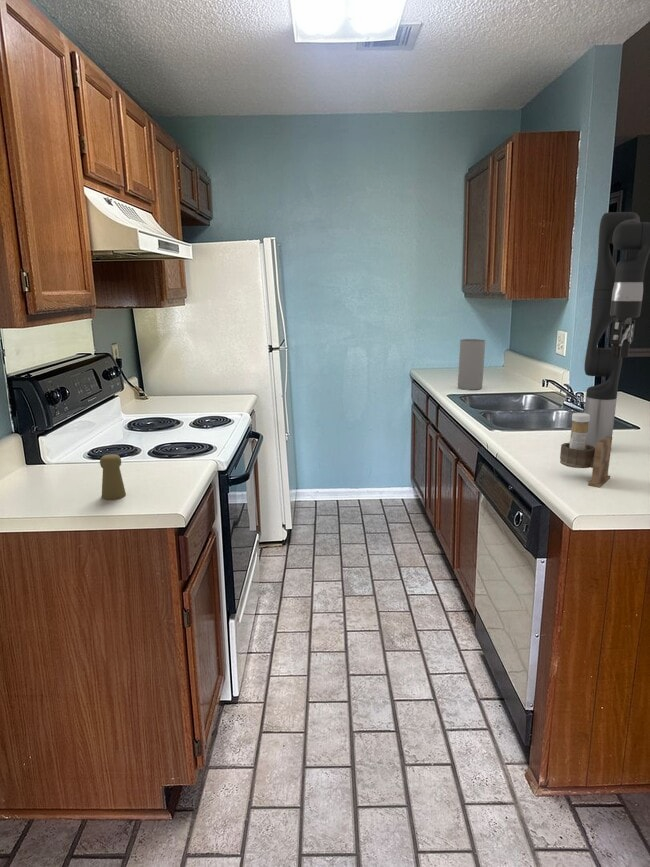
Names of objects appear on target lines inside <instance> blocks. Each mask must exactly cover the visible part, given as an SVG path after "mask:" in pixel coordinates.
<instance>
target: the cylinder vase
mask: <svg viewBox="0 0 650 867" xmlns="http://www.w3.org/2000/svg"><path fill="white" fill-rule="evenodd" d="M459 341H460V342H459V357H458V358H459V359H458V376H457V378H458V379H457V388H458V389H460V390H464V389H469V390H468V391H475V390H474V389H479V390H482V388H483V382H484V369H485V368H484V367H485V366H484V365H485V352H486V349H485V348H486V340H485V339H476V338H475V339H473V338H466V339H465V338H464V339H459Z"/></svg>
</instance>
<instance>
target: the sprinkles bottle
mask: <svg viewBox="0 0 650 867" xmlns="http://www.w3.org/2000/svg"><path fill="white" fill-rule="evenodd" d="M571 414H572V415H571V432H570V438H569V443H570V446H569V448H571V449H576V450H586V445H587V436H588V424H589V421H590V415H589V414H586V413H584V412H573V413H571Z"/></svg>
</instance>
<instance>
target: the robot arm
mask: <svg viewBox="0 0 650 867" xmlns="http://www.w3.org/2000/svg"><path fill="white" fill-rule="evenodd" d="M598 229H599V230H598V231H599V232H598V247H597V262H596V263H597V265H596V273H595V280H594V286H593V294H592V301H591V302H592V303H591V305H592V306H591V318H590V319H591V320H590V326H589V334H588V340H587V344H586V345H587V346H586V347H587V348H586V350H585V351H586V352H585V357H584V373H585V375H586V376H590V377H602V378H604V377H605V378H608V379H607V380H606V381H604V382H603V383H599V384H597V385H591V386H590V387H587V389H586V394H585V403H584V411H583V413H586V414H589V415H590V421H589V424H588V436H587V444H588V445H591V446H594V447H595V446H596V443H597V442H599V441H600V440H602V439H603V438H605V437H606V436H608V437H612V438H613V434H614V425H615V424H614V423H615V416H616V415H615V414H616V406H617V398H618V388H619V383H620V382H619V381H620V376H621V370H622V365H623V358H628V357H629V355H630V354H629V352H630V345H631V344H632V342H633V341H634V332H635V326H636V325H635V324H636V320H635V319H633V318H639V317H640V316H641V310H642V303H643V295H644V279H645V271H646V266H647V262H648V260H649V255H650V221H649V222H648V221H646V222H645V221H644V222H641V219H640V215H638V213H637V212H634V211H633V212H632V211H615V212H614V211H613V212H612V211H610V212H605V213H604V214H602V217H601V219H600V223H599V228H598ZM610 244H612V245H613V246H612V247H613V248H614V249H615V250H618V251H638V253H637V255H636V256H634V257H632V258H627V259H622V260H620V261H618V262H617V264H615V261H614V259H613V256H612V253H611V248H610ZM615 319H616V321H614V320H615ZM610 325H611V329H610V331H611V332H610V336H609V337H610V339H609V344H610V346H611V348H609V347H608V348H606V347H598V344H599V342H600V340H601V338H602V337H603V335H604V334H605V332H606V330H607V329H608V327H610Z"/></svg>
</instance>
